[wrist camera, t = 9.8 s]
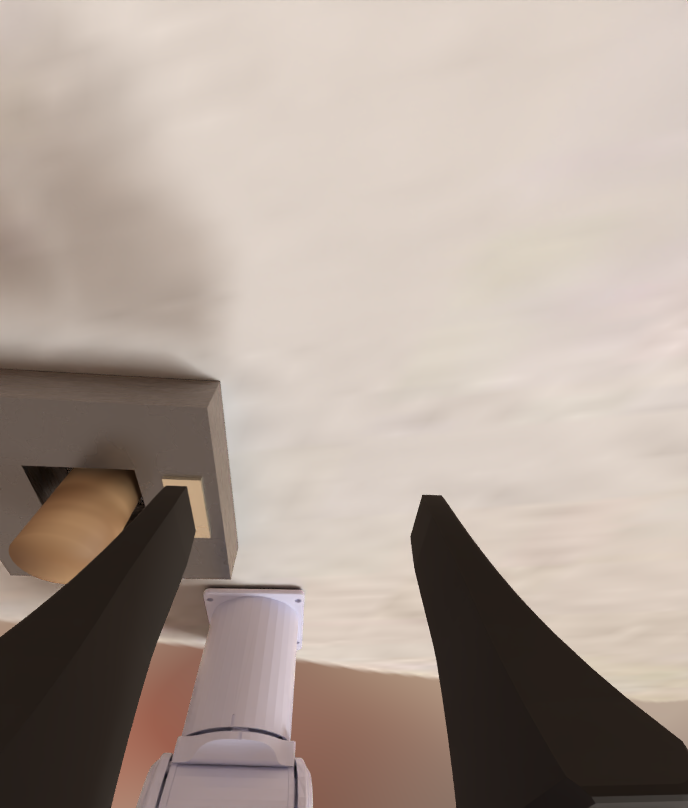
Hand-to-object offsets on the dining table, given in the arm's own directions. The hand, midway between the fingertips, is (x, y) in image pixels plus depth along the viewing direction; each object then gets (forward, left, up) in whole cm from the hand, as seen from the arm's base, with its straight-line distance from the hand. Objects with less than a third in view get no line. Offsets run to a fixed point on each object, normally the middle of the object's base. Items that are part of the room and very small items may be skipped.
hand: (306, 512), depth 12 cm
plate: (-8, +12, -9) cm, 17 cm away
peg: (-8, +12, -9) cm, 17 cm away
